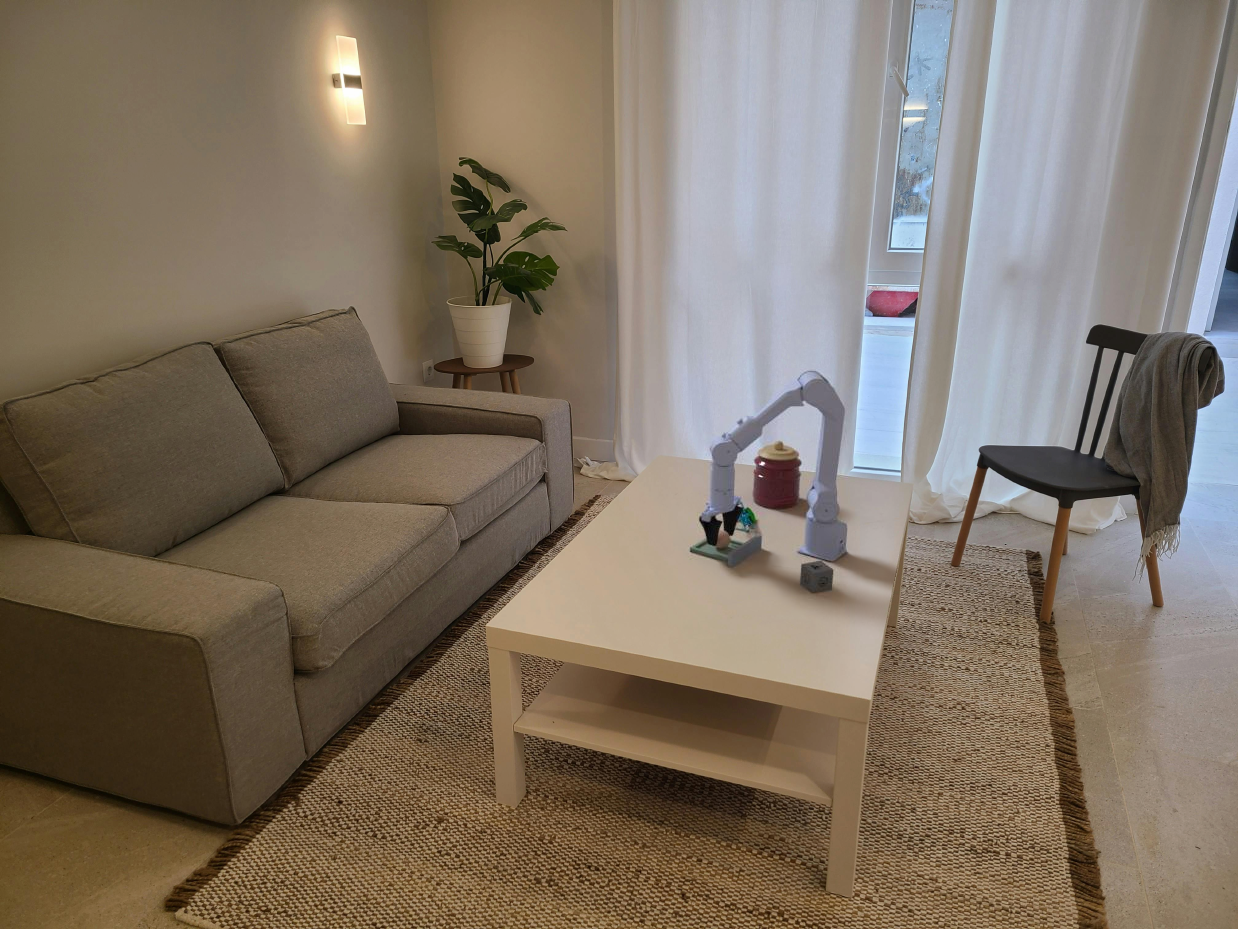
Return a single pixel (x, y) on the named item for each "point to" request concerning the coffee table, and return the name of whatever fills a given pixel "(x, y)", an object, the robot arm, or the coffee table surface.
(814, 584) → the dice cube
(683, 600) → the coffee table surface
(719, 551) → the green tray
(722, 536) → the rubber ball
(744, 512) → the stick construction toy
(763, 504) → the canister
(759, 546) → the low wall
